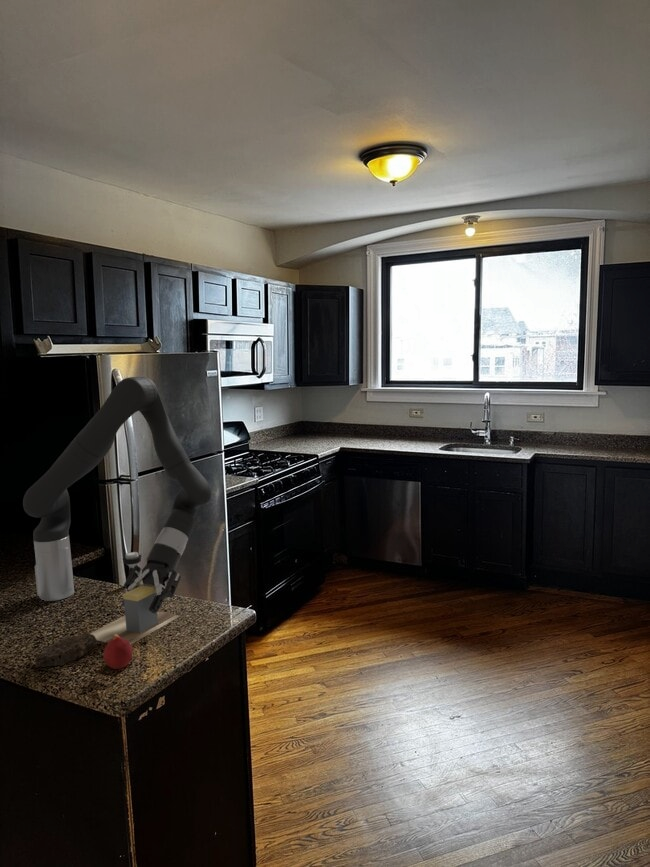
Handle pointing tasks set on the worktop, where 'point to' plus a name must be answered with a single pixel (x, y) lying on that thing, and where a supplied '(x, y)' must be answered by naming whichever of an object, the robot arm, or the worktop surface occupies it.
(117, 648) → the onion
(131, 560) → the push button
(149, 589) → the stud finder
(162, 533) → the robot arm
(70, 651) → the concrete sample
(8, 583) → the worktop surface
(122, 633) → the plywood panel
